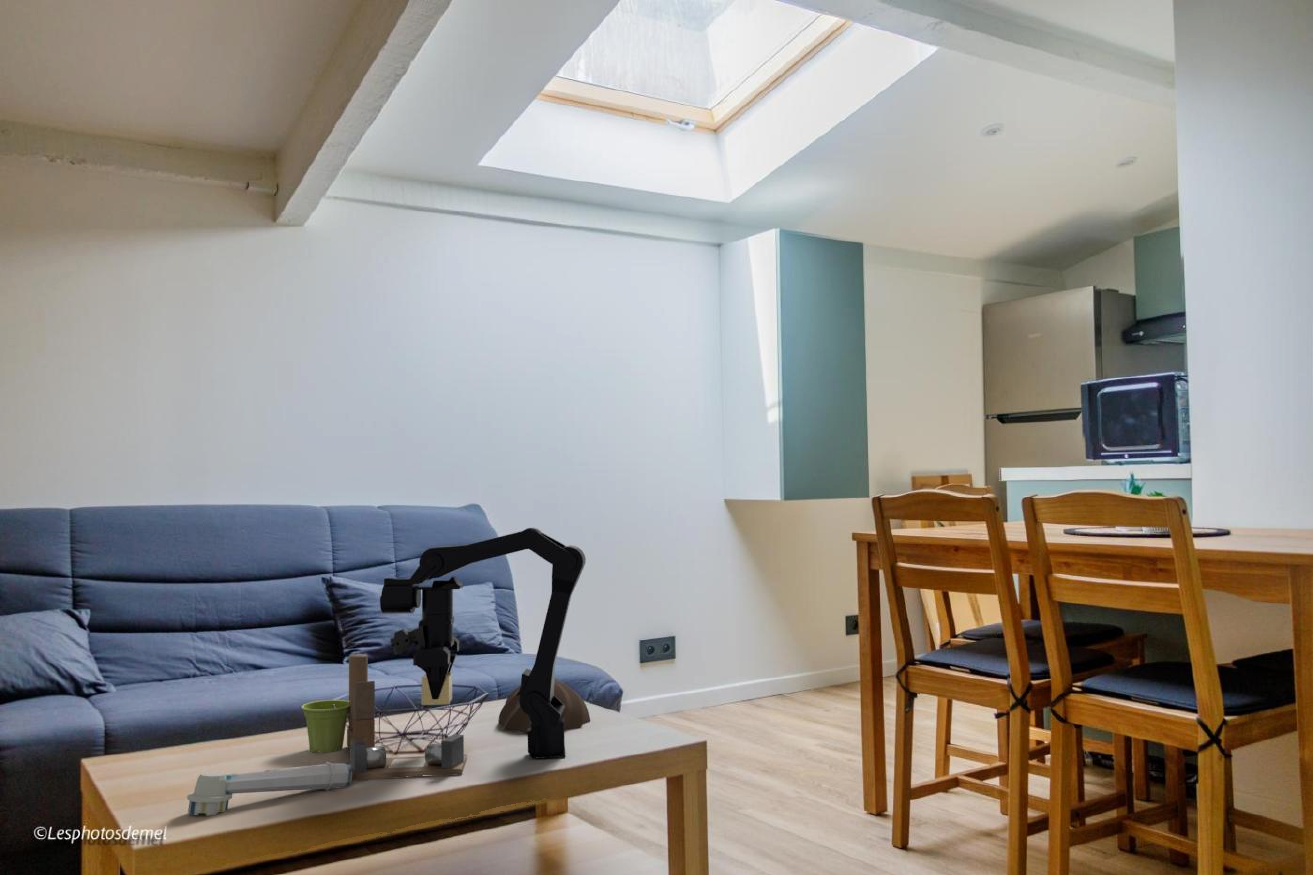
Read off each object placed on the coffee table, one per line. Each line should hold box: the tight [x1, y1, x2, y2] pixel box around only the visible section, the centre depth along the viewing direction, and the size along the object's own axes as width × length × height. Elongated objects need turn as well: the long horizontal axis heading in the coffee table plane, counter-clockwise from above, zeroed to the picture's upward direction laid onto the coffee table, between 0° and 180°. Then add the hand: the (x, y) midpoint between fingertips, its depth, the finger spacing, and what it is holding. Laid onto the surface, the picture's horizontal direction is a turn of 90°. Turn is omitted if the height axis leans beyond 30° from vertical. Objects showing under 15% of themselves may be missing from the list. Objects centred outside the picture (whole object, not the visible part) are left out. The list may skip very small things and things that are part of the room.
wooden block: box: [346, 653, 376, 750], centre depth 187 cm, size 4×11×18 cm, turn 26°
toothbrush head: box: [186, 761, 352, 816], centre depth 156 cm, size 5×7×25 cm
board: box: [351, 753, 468, 781], centre depth 173 cm, size 20×10×1 cm, turn 97°
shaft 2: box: [424, 734, 465, 769], centre depth 172 cm, size 6×5×5 cm
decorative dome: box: [497, 679, 591, 735], centre depth 208 cm, size 19×20×10 cm
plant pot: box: [301, 699, 350, 754], centre depth 189 cm, size 9×9×9 cm
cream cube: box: [421, 672, 453, 706], centre depth 182 cm, size 5×5×5 cm
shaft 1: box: [349, 739, 387, 774], centre depth 170 cm, size 6×5×5 cm
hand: (437, 696), depth 182 cm, fingers closed on cream cube, 5 cm apart
